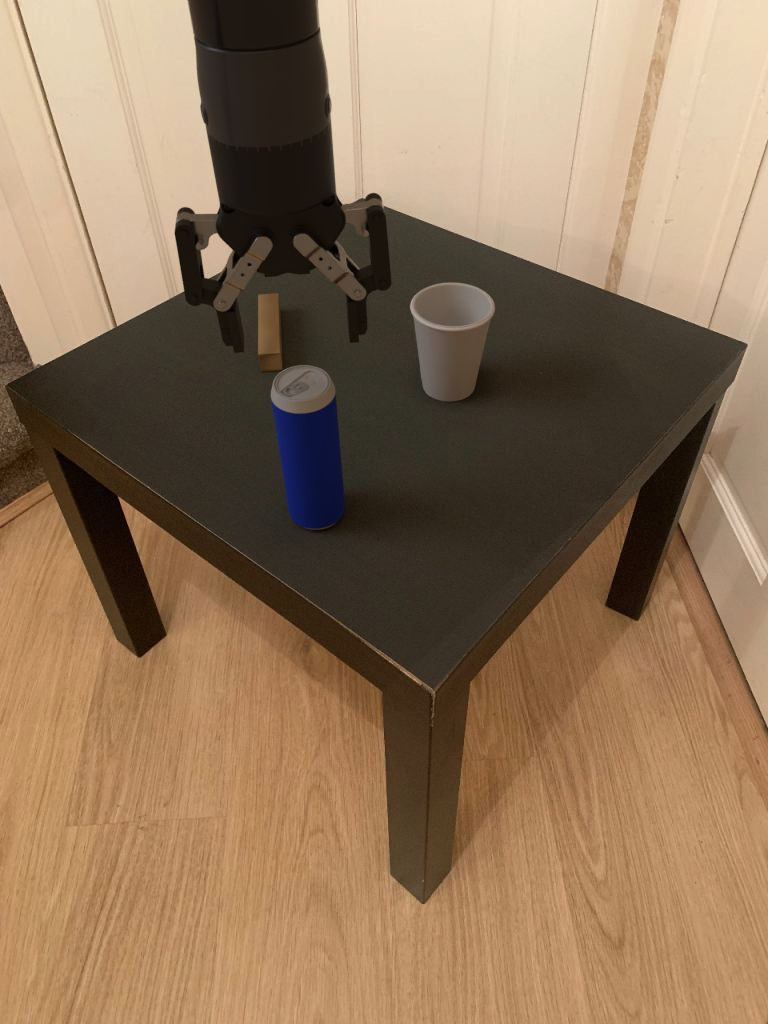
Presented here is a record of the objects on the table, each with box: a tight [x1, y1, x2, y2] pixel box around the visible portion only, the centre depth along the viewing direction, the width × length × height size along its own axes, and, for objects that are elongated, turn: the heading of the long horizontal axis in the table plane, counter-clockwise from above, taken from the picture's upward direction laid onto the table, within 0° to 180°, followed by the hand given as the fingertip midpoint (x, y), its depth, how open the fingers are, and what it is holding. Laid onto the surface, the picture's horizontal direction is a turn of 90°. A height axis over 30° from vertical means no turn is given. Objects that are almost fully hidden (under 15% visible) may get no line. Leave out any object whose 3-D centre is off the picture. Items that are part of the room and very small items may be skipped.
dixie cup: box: [409, 282, 496, 402], centre depth 82 cm, size 8×8×10 cm
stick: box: [257, 292, 284, 373], centre depth 91 cm, size 2×12×2 cm, turn 6°
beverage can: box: [270, 364, 346, 531], centre depth 68 cm, size 5×5×15 cm
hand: (296, 341), depth 59 cm, fingers open, 8 cm apart
